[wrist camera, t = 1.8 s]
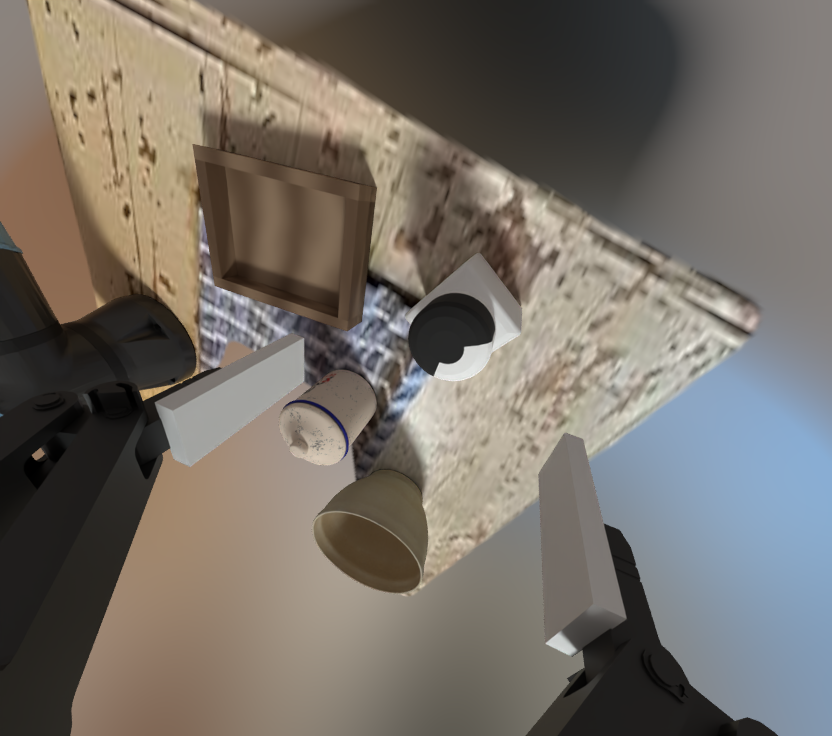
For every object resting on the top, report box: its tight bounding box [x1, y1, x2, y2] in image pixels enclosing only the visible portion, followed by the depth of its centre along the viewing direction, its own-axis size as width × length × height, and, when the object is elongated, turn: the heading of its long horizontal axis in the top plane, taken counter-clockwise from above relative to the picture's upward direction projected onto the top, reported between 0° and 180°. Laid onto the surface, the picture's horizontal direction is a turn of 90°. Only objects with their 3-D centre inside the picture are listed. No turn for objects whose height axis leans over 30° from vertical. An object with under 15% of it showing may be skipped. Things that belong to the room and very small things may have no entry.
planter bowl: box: [312, 470, 428, 594], centre depth 43 cm, size 16×16×11 cm
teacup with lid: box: [279, 370, 377, 465], centre depth 37 cm, size 12×9×12 cm
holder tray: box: [193, 144, 377, 331], centre depth 32 cm, size 18×14×4 cm
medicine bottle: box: [405, 253, 522, 381], centre depth 25 cm, size 7×7×12 cm
